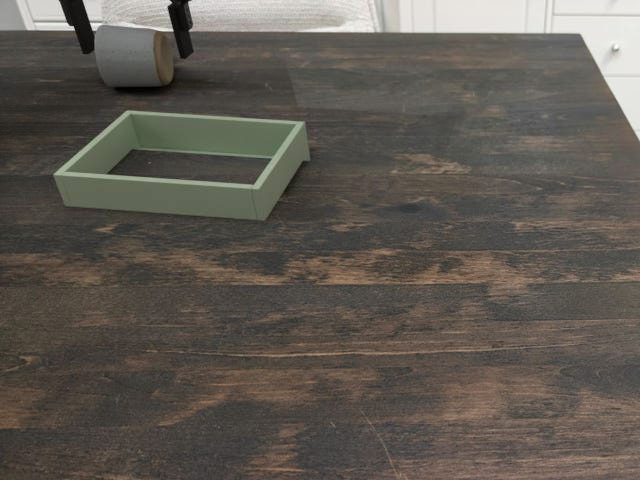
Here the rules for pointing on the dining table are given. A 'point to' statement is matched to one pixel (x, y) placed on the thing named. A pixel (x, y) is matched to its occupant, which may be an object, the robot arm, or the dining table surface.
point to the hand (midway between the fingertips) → (138, 53)
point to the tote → (187, 137)
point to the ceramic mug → (133, 56)
